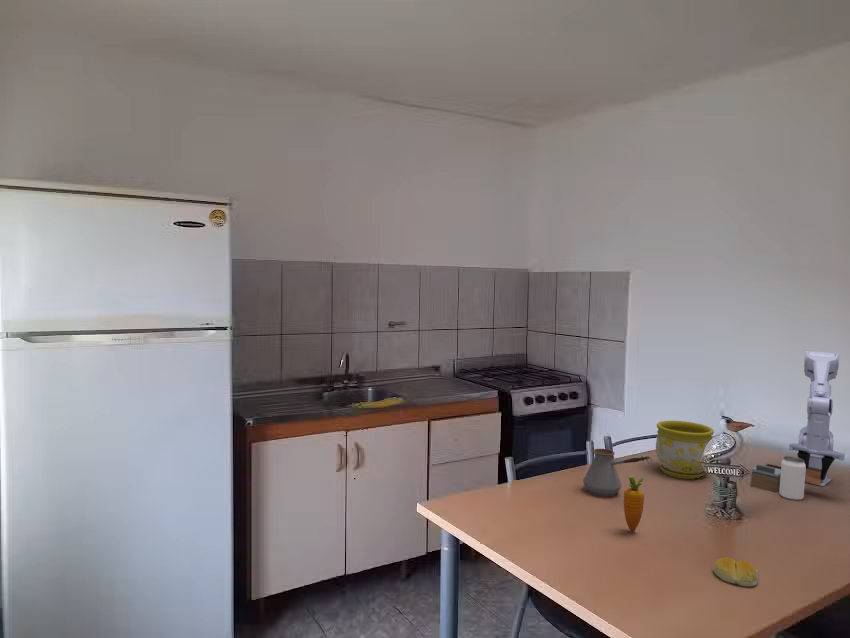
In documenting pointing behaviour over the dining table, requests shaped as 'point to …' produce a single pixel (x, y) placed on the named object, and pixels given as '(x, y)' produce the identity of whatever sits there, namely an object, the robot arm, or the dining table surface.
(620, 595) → the dining table surface
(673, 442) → the flowerpot
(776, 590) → the dining table surface
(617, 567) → the dining table surface
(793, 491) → the can
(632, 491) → the carrot
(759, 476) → the brown rectangular box
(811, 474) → the block
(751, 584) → the bread roll
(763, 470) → the cover
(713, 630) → the dining table surface
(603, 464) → the coffee pot
